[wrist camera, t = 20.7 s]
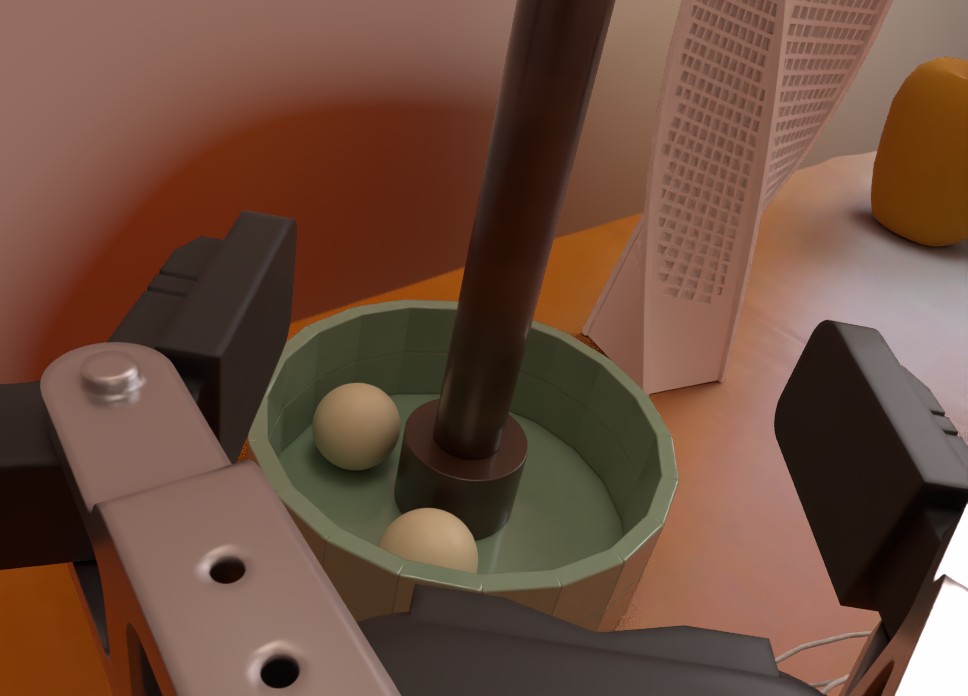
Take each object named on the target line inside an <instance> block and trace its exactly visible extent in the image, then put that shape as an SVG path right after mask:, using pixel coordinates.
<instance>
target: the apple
mask: <svg viewBox="0 0 968 696" xmlns="http://www.w3.org/2000/svg"><path fill="white" fill-rule="evenodd" d="M871 205H872V214H873V215H874V216H875V218H876V219H877V220H878V221H879V222H880V223H881V224H882V225H884V226H885V227H886V228H887V229H888V230H890V231H892V232H894V233H896V234H898V235H900V236H902V237H904V238H906V239H909V240H911V241H914V242H916V243H919V244H923V245H926V246H936V247H940V246H944V245H951V244H957V243H961V242H963V241H964V240H966V239H968V61H965V60H962V59H956V58H950V57H943V58H937V59H934V60H932V61H929V62H927V63H924V64H921V65H919V66H918V67H917V68H916V69H915V70H914V72H912V73H911V74H910V75H909V76H908V77H907V78H906V80H905V81H904V83H903V84H902V86H901V87H900V89H899V91H898V92H897V94H896V95H895V97H894V99H893V101H892V104H891V107H890V111H889V114H888V117H887V120H886V123H885V126H884V130H883V132H882V136H881V139H880V144H879V147H878V151H877V155H876V159H875V162H874V168H873V177H872V187H871Z"/></svg>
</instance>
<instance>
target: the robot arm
mask: <svg viewBox="0 0 968 696" xmlns="http://www.w3.org/2000/svg"><path fill="white" fill-rule="evenodd" d="M296 236H297V226H296V221H295V220H294V219H290V218H284V217H279V216H273V215H268V214H263V213H258V212H252V211H247V210H244V211H242V213H241V214H240V215H239V217H238V218H237V220H236V221H235V223H234V225H233V226H232V228H231V229H230V231H229V232H228V234H227V235H226V237H225V238H224V240H220V239H214V238H209V237H203V236H201V237H199V238H197V239H195V240H193V241H191V242H189V243H188V244H186V245H184V246H182V247H180V248H178V249H176V250H174V251H173V253H172V254H171V256H170V257H169V258H168V260H167V261H166V262H165V264H164V265H163V266H162V268H161V269H160V273H159V274H157V275H156V276H155V277H154V279H153V280H152V281H151V283H150V284H149V285H148V289H147V291H144V292H143V293H142V295H141V296H140V298H139V299H138V300H137V302H136V303H135V305H134V306H133V307H132V308H131V310H130V311H129V313H128V314H127V315H126V317H125V318H124V319H123V321H122V322H121V323H120V325H119V326H118V327H117V329H116V330H115V332H114V333H113V334H112V336H111V337H110V338H109V340H108V341H107V342H106V343H99V344H92V345H88V346H84V347H81V348H78V349H75V350H72V351H70V352H68V353H66V354H64V355H62V356H61V357H59V358H58V359H56V360H55V361H54V362H52V363H51V364H50V365H49V366H48V367H47V369H46V370H45V371H44V373H43V376H42V378H41V381H36V382H30V383H18V384H0V570H4V569H13V568H22V567H31V566H41V565H50V564H59V563H67V565H68V567H69V570H70V573H71V576H72V579H73V581H74V584H75V587H76V590H77V593H78V595H79V598H80V601H81V604H82V607H83V610H84V612H85V615H86V618H87V621H88V624H89V626H90V629H91V632H92V635H93V638H94V640H95V643H96V646H97V649H98V652H99V654H100V657H101V660H102V663H103V666H104V668H105V671H106V674H107V677H108V680H109V683H110V687H111V690H112V694H113V696H827V695H825V694H823V693H822V692H820V691H818V690H817V689H815V688H813V687H812V686H810V685H809V684H807V683H805V682H803V681H801V680H799V679H797V678H795V677H793V676H791V675H789V674H787V673H784V672H782V671H779V670H778V668H777V665H776V661H775V658H774V654H773V651H772V647H771V644H770V640H769V639H768V638H762V637H755V636H749V635H742V634H736V633H729V632H723V631H716V630H710V629H704V628H697V627H691V626H672V627H660V628H648V629H636V630H624V631H612V632H597V631H592V630H588V629H585V628H583V627H580V626H578V625H575V624H572V623H570V622H567V621H564V620H562V619H559V618H556V617H554V616H551V615H549V614H546V613H543V612H541V611H538V610H535V609H533V608H530V607H528V606H525V605H522V604H520V603H517V602H514V601H512V600H509V599H506V598H504V597H497V596H491V595H484V594H478V593H471V592H465V591H459V590H452V589H446V588H439V587H433V586H426V585H420V584H415V585H414V590H413V594H412V599H411V604H410V608H409V612H399V613H390V614H385V615H380V616H375V617H370V618H367V619H364V620H361V621H358V622H356V621H355V620H354V618H353V616H352V615H351V613H350V612H349V610H348V608H347V607H346V605H345V604H344V602H343V600H342V599H341V597H340V595H339V594H338V592H337V591H336V589H335V587H334V586H333V584H332V582H331V581H330V579H329V578H328V576H327V574H326V573H325V571H324V570H323V568H322V566H321V565H320V563H319V561H318V560H317V558H316V557H315V555H314V553H313V552H312V550H311V548H310V547H309V545H308V544H307V542H306V540H305V539H304V537H303V535H302V534H301V532H300V531H299V529H298V527H297V526H296V524H295V523H294V521H293V519H292V518H291V516H290V514H289V513H288V511H287V510H286V508H285V506H284V505H283V503H282V501H281V500H280V498H279V497H278V495H277V493H276V492H275V490H274V488H273V487H272V485H271V484H270V482H269V480H268V479H267V477H266V476H265V474H264V473H263V471H262V470H261V468H260V467H259V466H258V465H257V464H256V463H255V462H254V461H252V460H244V461H241V462H238V463H236V462H237V460H238V457H239V455H240V452H241V450H242V448H243V445H244V443H245V441H246V438H247V436H248V433H249V431H250V429H251V426H252V424H253V421H254V419H255V417H256V414H257V412H258V409H259V407H260V405H261V402H262V400H263V398H264V395H265V393H266V390H267V388H268V386H269V383H270V381H271V378H272V376H273V374H274V371H275V369H276V366H277V364H278V362H279V359H280V357H281V355H282V352H283V350H284V347H285V344H286V340H287V336H288V331H289V326H290V320H291V313H292V298H293V284H294V269H295V254H296V238H297V237H296ZM944 415H945V412H944V410H943V409H942V407H941V406H940V404H939V403H938V401H937V400H936V398H935V397H934V395H933V394H932V392H931V391H930V389H929V388H928V387H927V386H925V385H924V384H923V383H922V382H921V381H920V380H919V379H917V378H916V377H915V376H914V375H913V374H912V373H910V372H909V371H908V370H907V369H906V368H905V367H903V366H901V365H900V363H899V362H898V360H897V359H896V357H895V356H894V354H893V352H892V351H891V349H890V348H889V346H888V345H887V343H886V342H885V340H884V338H883V337H882V335H881V334H880V333H879V331H877V330H876V329H873V328H869V327H863V326H858V325H853V324H847V323H842V322H836V321H831V320H825V321H822V322H821V323H820V324H819V325H818V326H817V327H816V328H815V329H814V331H813V333H812V335H811V337H810V339H809V341H808V343H807V345H806V346H805V348H804V350H803V352H802V354H801V356H800V358H799V360H798V362H797V364H796V366H795V368H794V370H793V372H792V374H791V376H790V378H789V380H788V382H787V384H786V386H785V388H784V390H783V392H782V394H781V396H780V399H779V401H778V404H777V408H776V412H775V420H774V428H775V435H776V439H777V441H778V444H779V447H780V449H781V452H782V454H783V457H784V460H785V462H786V465H787V467H788V470H789V473H790V475H791V478H792V480H793V483H794V486H795V488H796V491H797V493H798V496H799V499H800V501H801V504H802V506H803V509H804V512H805V514H806V517H807V519H808V522H809V525H810V527H811V530H812V532H813V535H814V538H815V540H816V543H817V545H818V548H819V551H820V553H821V556H822V558H823V561H824V564H825V566H826V569H827V571H828V574H829V577H830V579H831V582H832V584H833V587H834V590H835V592H836V595H837V597H838V600H839V603H840V605H841V606H847V607H854V608H860V609H866V610H873V611H878V612H879V614H880V616H881V620H880V622H879V623H878V624H877V626H876V627H875V629H874V630H873V631H872V633H871V634H870V635H869V637H868V639H867V641H866V643H865V645H864V647H863V649H862V651H861V653H860V655H859V657H858V659H857V661H856V663H855V665H854V667H853V669H852V671H851V673H850V675H849V677H848V679H847V681H846V682H845V684H844V686H843V688H842V690H841V692H840V694H839V696H968V446H967V445H966V443H965V442H964V440H963V439H962V437H958V436H957V434H958V431H957V430H956V428H955V427H954V425H953V424H952V422H951V421H950V419H949V418H948V417H945V416H944Z"/></svg>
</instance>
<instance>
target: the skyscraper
mask: <svg viewBox="0 0 968 696" xmlns="http://www.w3.org/2000/svg"><path fill="white" fill-rule="evenodd" d="M892 2H893V0H682V2H681V5H680V9H679V13H678V16H677V20H676V24H675V28H674V31H673V35H672V39H671V42H670V47H669V51H668V56H667V60H666V65H665V69H664V74H663V78H662V83H661V88H660V94H659V100H658V106H657V111H656V117H655V123H654V129H653V137H652V145H651V152H650V160H649V167H648V177H647V188H646V199H645V210H644V212H643V214H642V216H641V218H640V220H639V222H638V224H637V225H636V227H635V229H634V231H633V233H632V235H631V237H630V239H629V241H628V243H627V245H626V246H625V248H624V250H623V252H622V254H621V256H620V258H619V260H618V262H617V264H616V266H615V267H614V269H613V271H612V273H611V275H610V277H609V279H608V281H607V283H606V285H605V287H604V289H603V291H602V293H601V295H600V297H599V299H598V300H597V302H596V304H595V306H594V308H593V310H592V312H591V314H590V316H589V318H588V320H587V322H586V324H585V326H584V328H583V330H582V333H583V334H584V335H585V336H586V335H588V336H589V337H590V338H591V339H592V340H593V341H594V342H595V344H596V345H597V346H598V347H599V348H600V349H601V350H602V351H603V352H604V353H605V354H606V355H607V356H608V357H609V358H610V359H611V360H612V361H613V362H614V363H615V364H616V365H617V366H618V367H619V368H620V369H621V370H622V371H623V372H624V373H625V374H626V375H627V376H629V377H630V378H631V379H632V380H633V381H634V382H635V383H636V384H637V385H638V386H639V387H640V388H641V389H642V390H643V391H644V392H645V393H646V394H647V395H648V396H649V394H651V393H656V392H661V391H666V390H671V389H676V388H681V387H686V386H691V385H696V384H701V383H707V382H712V381H717V380H718V381H719V382H720V383H721V382H723V381H724V380H725V379H726V375H727V370H728V366H729V362H730V358H731V354H732V350H733V345H734V341H735V337H736V332H737V328H738V324H739V320H740V315H741V311H742V307H743V302H744V298H745V293H746V289H747V284H748V279H749V275H750V270H751V266H752V261H753V256H754V251H755V246H756V241H757V236H758V231H759V226H760V220H761V215H762V213H763V212H764V211H765V210H766V208H767V207H768V206H769V205H770V203H771V202H772V201H773V199H774V198H775V197H776V196H777V194H778V193H779V192H780V190H781V189H782V188H783V186H784V185H785V184H786V183H787V181H788V180H789V179H790V177H791V176H792V175H793V173H794V172H795V171H796V169H797V168H798V166H799V165H800V164H801V162H802V161H803V159H804V158H805V156H806V155H807V153H808V152H809V151H810V149H811V148H812V147H813V145H814V144H815V142H816V141H817V139H818V138H819V136H820V134H821V133H822V131H823V130H824V128H825V127H826V125H827V124H828V122H829V121H830V119H831V118H832V116H833V115H834V113H835V111H836V110H837V108H838V107H839V105H840V103H841V101H842V100H843V98H844V96H845V95H846V93H847V91H848V89H849V88H850V86H851V84H852V82H853V81H854V79H855V77H856V75H857V74H858V72H859V70H860V68H861V66H862V64H863V62H864V60H865V58H866V56H867V54H868V53H869V50H870V49H871V47H872V45H873V43H874V41H875V39H876V37H877V35H878V33H879V30H880V28H881V26H882V24H883V22H884V19H885V17H886V15H887V13H888V11H889V8H890V6H891V4H892Z"/></svg>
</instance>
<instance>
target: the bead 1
mask: <svg viewBox="0 0 968 696" xmlns="http://www.w3.org/2000/svg"><path fill="white" fill-rule="evenodd" d="M400 427H401V425H400V417H399V413H398V410H397V408H396V406H395V404H394V402H393V401H392V399H391V398H390V397H389V396H388V395H387V394H386V393H385V392H383V391H382V390H381V389H379V388H377V387H375V386H372V385H369V384H365V383H349V384H345V385H342V386H339V387H337V388H335V389H334V390H332V391H330V392H329V393H328V394H327V395H326V396H325V397H324V398H323V399H322V400H321V402H320V403H319V405H318V407H317V409H316V411H315V414H314V417H313V423H312V431H313V437H314V441H315V443H316V446H317V448H318V449H319V451H320V452H321V454H322V455H323V456H324V457H325V458H326V459H327V460H328V461H329V462H331V463H332V464H334V465H336V466H338V467H340V468H343V469H347V470H364V469H368V468H371V467H374V466H376V465H378V464H379V463H381V462H382V461H384V460H385V459H386V458H387V457H388V456H389V455H390V454H391V453H392V451H393V450H394V448H395V446H396V444H397V442H398V439H399V435H400Z"/></svg>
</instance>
